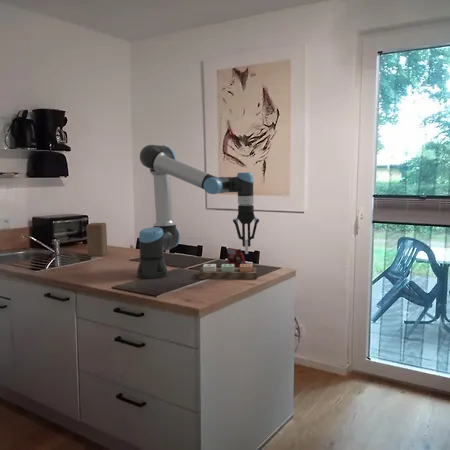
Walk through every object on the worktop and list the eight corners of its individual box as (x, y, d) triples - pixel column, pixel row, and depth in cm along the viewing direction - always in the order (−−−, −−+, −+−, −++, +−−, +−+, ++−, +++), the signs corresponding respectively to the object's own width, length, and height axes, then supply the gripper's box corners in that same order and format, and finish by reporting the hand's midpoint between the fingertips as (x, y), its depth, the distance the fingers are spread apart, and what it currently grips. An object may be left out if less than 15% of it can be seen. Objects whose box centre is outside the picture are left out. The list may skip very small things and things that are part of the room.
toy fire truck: (239, 270, 233) (239, 250, 232) (223, 267, 242) (223, 248, 241) (248, 268, 237) (248, 249, 236) (232, 265, 247) (232, 246, 245)
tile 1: (202, 273, 218) (202, 266, 217) (204, 270, 224) (204, 263, 223) (215, 273, 217) (215, 266, 217) (216, 270, 223) (216, 263, 223)
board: (198, 279, 215) (197, 272, 215) (201, 273, 227) (200, 267, 227) (256, 279, 213) (256, 273, 213) (256, 273, 225) (256, 267, 225)
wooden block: (103, 256, 279) (102, 224, 276) (87, 256, 279) (85, 224, 276) (107, 253, 289) (106, 222, 286) (92, 253, 289) (90, 222, 286)
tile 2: (221, 273, 217) (221, 266, 217) (222, 270, 223) (222, 263, 223) (233, 273, 217) (233, 266, 216) (234, 270, 223) (234, 263, 222)
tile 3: (239, 273, 216) (239, 266, 216) (240, 270, 222) (240, 263, 222) (252, 273, 216) (252, 266, 216) (252, 270, 222) (252, 263, 222)
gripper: (231, 205, 212) (232, 254, 215) (259, 205, 211) (260, 254, 214) (232, 204, 220) (233, 252, 222) (259, 203, 219) (260, 251, 221)
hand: (246, 253), depth 218 cm, fingers closed
